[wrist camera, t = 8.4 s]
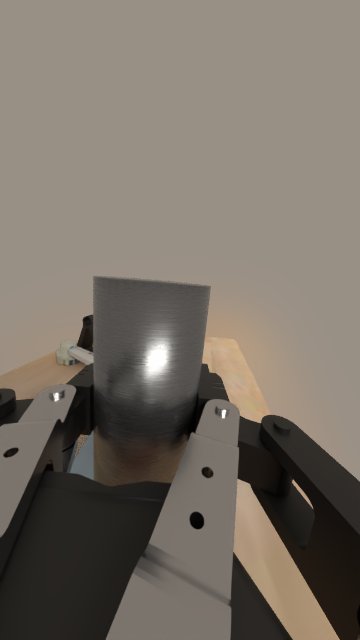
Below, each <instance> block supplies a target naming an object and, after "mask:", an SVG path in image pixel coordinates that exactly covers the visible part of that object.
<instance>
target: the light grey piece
mask: <svg viewBox="0 0 360 640" xmlns="http://www.w3.org/2000/svg"><path fill="white" fill-rule="evenodd" d="M56 357H57V361H58V364H60V365H67V366H68V365H74V364H76V363H77V362H78V360H79V361H80V362H82V363H84V364H86V365H89V364H91V363H93V353H92V352H90V351H87V350H85V349H83V348H80V347H78V346H77V345H76V343H75V342H74V341H71V340H64V341H62V342H61V344H60V349H58V350H57V351H56Z"/></svg>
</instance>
